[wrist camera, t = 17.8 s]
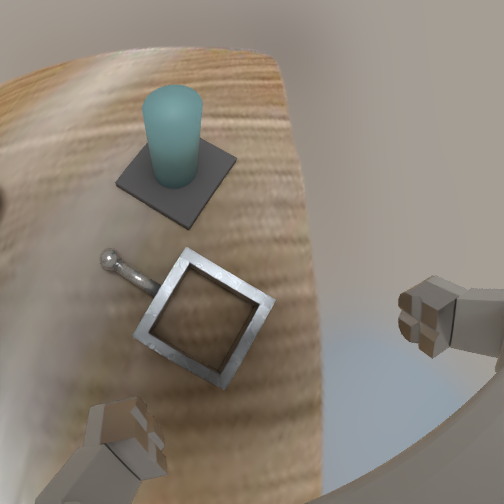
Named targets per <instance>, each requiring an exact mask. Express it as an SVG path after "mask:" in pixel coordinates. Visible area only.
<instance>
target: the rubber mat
mask: <svg viewBox="0 0 504 504" xmlns="http://www.w3.org/2000/svg"><path fill="white" fill-rule="evenodd" d="M236 160H237V158H236V157H234V156H232V155H230V154H229V153H227V152H225V151H223V150H222V149H220V148H218V147H216V146H214V145H212V144H211V143H209V142H207V141H205V140H203V139H201V138H200V139H199V152H198V165H197V173H196V176H195V178H194V179H193V181H192V182H191V183H190V184H188V185H187V186H185V187H182V188H178V189H171V188H167V187H164V186H162V185H161V184H160V183H159V182H158V181H157V180H156V178H155V175H154V171H153V166H152V161H151V156H150V151H149V145H148V143H147V144H146V145H145V146H144V147H143V149H142V150H141V151H140V152H139V153H138V155H137V156H136V157H135V158H134V159H133V161H132V162H131V163H130V164H129V166H128V167H127V168H126V169H125V171H124V172H123V173H122V175H121V176H120V177H119V178H118V180H117V181H116V182H115V183H116V185H117V187H119V188H121V189H122V190H124V191H126V192H127V193H129V194H130V195H132V196H134V197H135V198H137V199H139V200H140V201H142V202H143V203H145V204H147V205H148V206H150V207H152V208H153V209H155V210H156V211H158V212H160V213H161V214H163V215H165V216H166V217H168V218H170V219H171V220H173V221H174V222H176V223H178V224H179V225H181V226H183V227H184V228H186V229H188V230H189V229H190V228H191V226H192V225H193V223H194V222H195V220H196V219H197V217H198V216H199V214H200V213H201V211H202V210H203V208H204V207H205V205H206V204H207V202H208V201H209V199H210V198H211V196H212V195H213V194H214V192H215V191H216V189H217V188H218V186H219V185H220V183H221V182H222V181H223V179H224V178H225V176H226V175H227V174H228V172H229V171H230V169H231V168H232V166H233V165H234V164H235V162H236Z"/></svg>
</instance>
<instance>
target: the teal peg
mask: <svg viewBox="0 0 504 504" xmlns="http://www.w3.org/2000/svg"><path fill="white" fill-rule="evenodd" d="M202 107H203V103H202V99H201V97H200V95H199V94H198V93H197V92H196V91H195V90H193V89H191V88H189V87H187V86H183V85H168V86H164V87H161V88H158V89H156V90H155V91H153V92H152V93H151V94H149V95H148V97H147V98H146V99H145V101H144V103H143V108H142V111H143V117H144V123H145V129H146V135H147V140H148V145H149V151H150V156H151V161H152V166H153V171H154V175H155V178H156V180H157V181H158V182H159V183H160V184H161V185H162V186H164V187H167V188H171V189H178V188H182V187H185V186H187V185H188V184H190V183H191V182H192V181H193V179H194V178H195V176H196V173H197V165H198V152H199V139H200V128H201V117H202Z"/></svg>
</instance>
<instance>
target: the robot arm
mask: <svg viewBox="0 0 504 504" xmlns="http://www.w3.org/2000/svg"><path fill="white" fill-rule="evenodd" d="M398 306H399V307H400V309H401V310H402V311H401V313H400V315H399V318H398V320H399V321H398V323H399V329H400V331H401V334H402V335H403V336H404V337H405V339H406V340H408V341H409V342H412V343H418V346H419V349H420V350H421V351H423V352H424V353H426V354H427V355H428V356H430V357H431V358H434V357H436V356H437V355H439V354H440V353H441V352H443V351H444V350H446V349H447V348H449V347H451V348H454V349H459V350H464V351H468V352H472V353H477V354H481V355H486V356H491V357H496V358H498V360H497V363H496V366H495V372H497V373H496V374H495V375H494V376H493V377H492V378H491V379H490V380H489V381H488V382H487V383H486V384H485V385H484V386H483V387H482V388H481V389H480V390H479V391H478V392H477V393H476V394H475V395H474V396H473V397H472V398H471V399H470V400H468V401H467V402H466V403H465V404H464V405H463V406H462V407H461V408H459V409H458V410H457V411H456V412H455V413H454V414H452V415H451V416H450V417H449V418H448V419H446V420H445V421H444V422H443V423H441V424H440V425H439V426H438V427H436V428H435V429H434V430H432V431H431V432H430V433H428V434H427V435H426V436H424V437H423V438H422V439H420V440H419V441H417V442H416V443H415V444H413V445H412V446H410V447H409V448H407V449H406V450H404V451H403V452H401V453H400V454H398V455H397V456H395V457H394V458H392V459H390V460H389V461H387V462H386V463H384V464H382V465H381V466H379V467H377V468H376V469H374V470H372V471H370V472H369V473H367V474H365V475H363V476H361V477H360V478H358V479H356V480H354V481H352V482H350V483H348V484H346V485H344V486H342V487H340V488H338V489H336V490H334V491H332V492H330V493H328V494H326V495H323V496H321V497H319V498H317V499H314V500H312V501H310V502H307V503H305V504H504V289H474V288H471V289H469V290H467V289H465V288H463V287H460V286H458V285H456V284H454V283H452V282H450V281H447V280H445V279H443V278H441V277H438V276H431V277H429V278H427V279H426V280H424V281H423V282H422V283H420V284H418V285H416V286H414V287H413V288H411V289H409V290H407V291H405V292H403V293H402V294H400V296H399V299H398ZM164 445H165V444H164V436H163V433H162V430H161V427H160V425H159V423H158V421H157V420H156V418H155V417H154V416H153V415H151V414H149V413H147V405H146V404H145V402H144V401H143V399H142V398H141V397H139V396H136V397H132V398H127V399H123V400H118V401H113V402H108V403H104V404H99V405H95V406H92V407H91V408H90V411H89V416H88V422H87V427H86V433H85V439H84V445H83V447H81V448H78V449H77V451H76V452H75V453H74V454H73V455H72V456H71V458H70V459H69V460H68V461H67V462H66V464H65V465H64V466H63V467H62V468H61V470H60V471H59V472H58V473H57V474H56V475H55V477H54V478H53V479H52V480H51V481H50V483H49V484H48V485H47V486H46V487H45V489H44V490H43V491H42V492H41V493H40V494H39V496H38V497H37V498H36V500H35V504H131V502H132V500H133V498H134V496H135V494H136V492H137V490H138V488H139V486H140V484H141V480H146V479H151V478H156V477H161V476H165V475H168V470H167V462H166V456H165V455H164V454H163V453H162V451H161V450H162V448H163V447H164Z"/></svg>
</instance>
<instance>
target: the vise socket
mask: <svg viewBox="0 0 504 504" xmlns="http://www.w3.org/2000/svg"><path fill="white" fill-rule="evenodd" d="M100 264H101V266H102V267H103V268H104V269H106V270H109V271H112V270H114V271H116V272H117V273H119V274H120V275H122V276H123V277H125V278H126V279H128V280H129V281H131V282H132V283H134V284H135V285H137V286H138V287H140V288H141V289H143V290H144V291H146V292H147V293H149V294H151V295H152V296H154V297H155V298H154V299H153V301H152V303H151V305H150V306H149V308H148V310H147V311H146V313H145V315H144V316H143V318H142V320H141V322H140V323H139V325H138V327H137V329H136V330H135V332H134V334H133V336H132V337H134V338H135V339H137V340H138V341H140V342H142V343H143V344H145V345H146V346H148V347H150V348H151V349H153V350H154V351H156V352H158V353H159V354H161V355H163V356H164V357H166V358H168V359H169V360H171V361H173V362H174V363H176V364H178V365H179V366H181V367H183V368H185V369H187V370H188V371H190V372H192V373H194V374H195V375H197V376H199V377H201V378H203V379H205V380H207V381H208V382H210V383H212V384H214V385H216V386H218V387H220V388H222V389H224V390H226V388H227V386H228V385H229V383H230V381H231V380H232V378H233V376H234V374H235V373H236V371H237V369H238V367H239V366H240V364H241V362H242V360H243V359H244V357H245V355H246V353H247V352H248V350H249V348H250V346H251V344H252V343H253V341H254V339H255V337H256V335H257V334H258V332H259V330H260V328H261V326H262V325H263V323H264V321H265V319H266V317H267V315H268V314H269V312H270V310H271V308H272V306H273V304H274V302H275V301H276V300H275V299H273V298H272V297H270V296H268V295H266V294H265V293H263V292H261V291H260V290H258V289H256V288H254V287H253V286H251V285H249V284H248V283H246V282H244V281H243V280H241V279H239V278H237V277H236V276H234V275H232V274H231V273H229V272H227V271H226V270H224V269H222V268H221V267H219V266H217V265H216V264H214V263H212V262H211V261H209V260H207V259H206V258H204V257H202V256H201V255H199V254H197V253H196V252H194V251H193V250H191V249H189V248H188V247H186V248H185V249H184V251H183V252H182V254H181V255H180V257H179V259H178V260H177V262H176V263H175V265H174V267H173V268H172V270H171V271H170V273H169V275H168V276H167V278H166V280H165V281H164V283H163V285H160V284H159V283H157V282H155V281H154V280H152V279H151V278H149V277H148V276H146V275H145V274H143V273H141V272H140V271H138V270H137V269H135V268H134V267H132V266H131V265H129V264H128V263H126V262H125V261H123V260H122V259H121V258H120V254H119V253H118V252H117V251H116V250H115V249H112V248H108V249H105V250H104V251H103V252H102V253H101V255H100ZM189 268H192V269H193V270H195V271H197V272H198V273H200V274H202V275H203V276H205V277H207V278H208V279H210V280H212V281H213V282H215V283H217V284H218V285H220V286H222V287H223V288H225V289H227V290H228V291H230V292H232V293H234V294H235V295H237V296H239V297H240V298H242V299H244V300H246V301H247V302H249V303H251V304H252V305H254V308H253V310H252V311H251V313H250V315H249V317H248V319H247V320H246V322H245V324H244V326H243V328H242V329H241V331H240V333H239V335H238V336H237V338H236V340H235V342H234V344H233V345H232V347H231V349H230V351H229V352H228V354H227V356H226V358H225V359H224V361H223V363H222V364H221V366H220V368H219V370H216V369H214V368H213V367H211V366H209V365H207V364H205V363H204V362H202V361H200V360H198V359H196V358H195V357H193V356H191V355H189V354H188V353H186V352H184V351H182V350H181V349H179V348H177V347H176V346H174V345H172V344H171V343H169V342H167V341H166V340H164V339H162V338H161V337H159V336H158V335H156V334H154V333H153V332H152V330H153V329H154V327H155V325H156V323H157V322H158V320H159V318H160V317H161V315H162V313H163V312H164V310H165V308H166V306H167V305H168V303H169V301H170V300H171V298H172V296H173V295H174V293H175V291H176V290H177V288H178V286H179V285H180V283H181V281H182V280H183V278H184V277H185V275H186V273H187V272H188V270H189Z"/></svg>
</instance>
